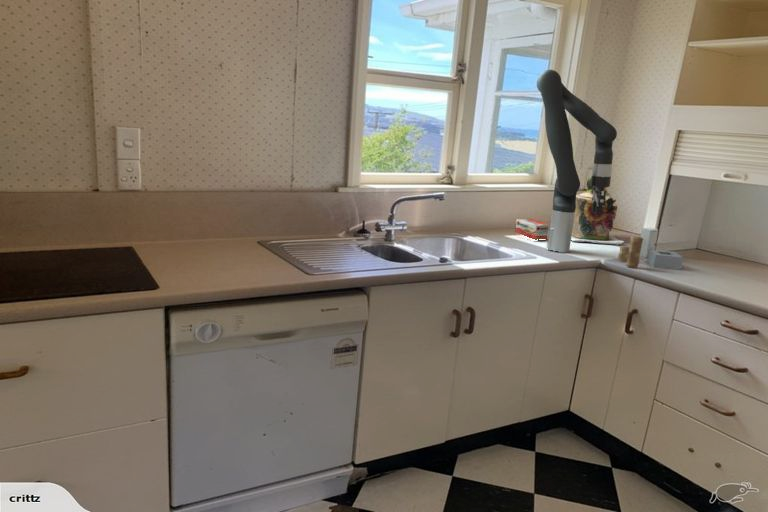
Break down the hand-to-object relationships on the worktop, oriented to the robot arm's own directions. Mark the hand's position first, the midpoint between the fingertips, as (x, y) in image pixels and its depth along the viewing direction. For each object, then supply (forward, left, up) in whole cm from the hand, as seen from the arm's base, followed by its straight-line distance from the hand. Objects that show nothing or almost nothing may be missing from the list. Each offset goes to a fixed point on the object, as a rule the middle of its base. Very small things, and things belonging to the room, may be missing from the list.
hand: (596, 213), depth 229 cm
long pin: (+13, -18, -17) cm, 28 cm away
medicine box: (-23, +23, -18) cm, 37 cm away
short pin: (+12, -8, -17) cm, 22 cm away
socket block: (+27, -9, -17) cm, 33 cm away
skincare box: (+24, +6, -18) cm, 30 cm away
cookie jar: (+6, +35, -18) cm, 40 cm away
